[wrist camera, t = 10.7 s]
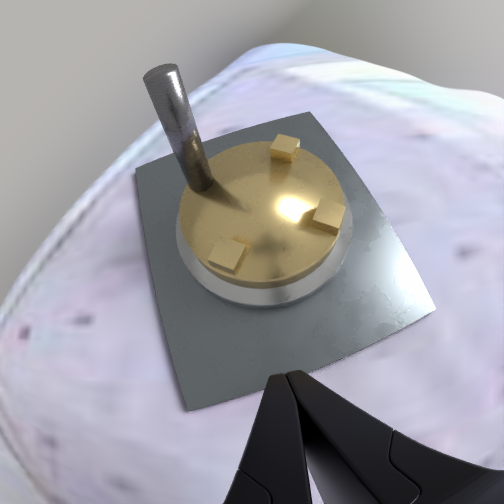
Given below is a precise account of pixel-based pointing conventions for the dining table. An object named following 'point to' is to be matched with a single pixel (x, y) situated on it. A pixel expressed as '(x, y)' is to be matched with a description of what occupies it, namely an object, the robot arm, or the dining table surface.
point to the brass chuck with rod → (249, 198)
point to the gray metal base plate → (281, 298)
